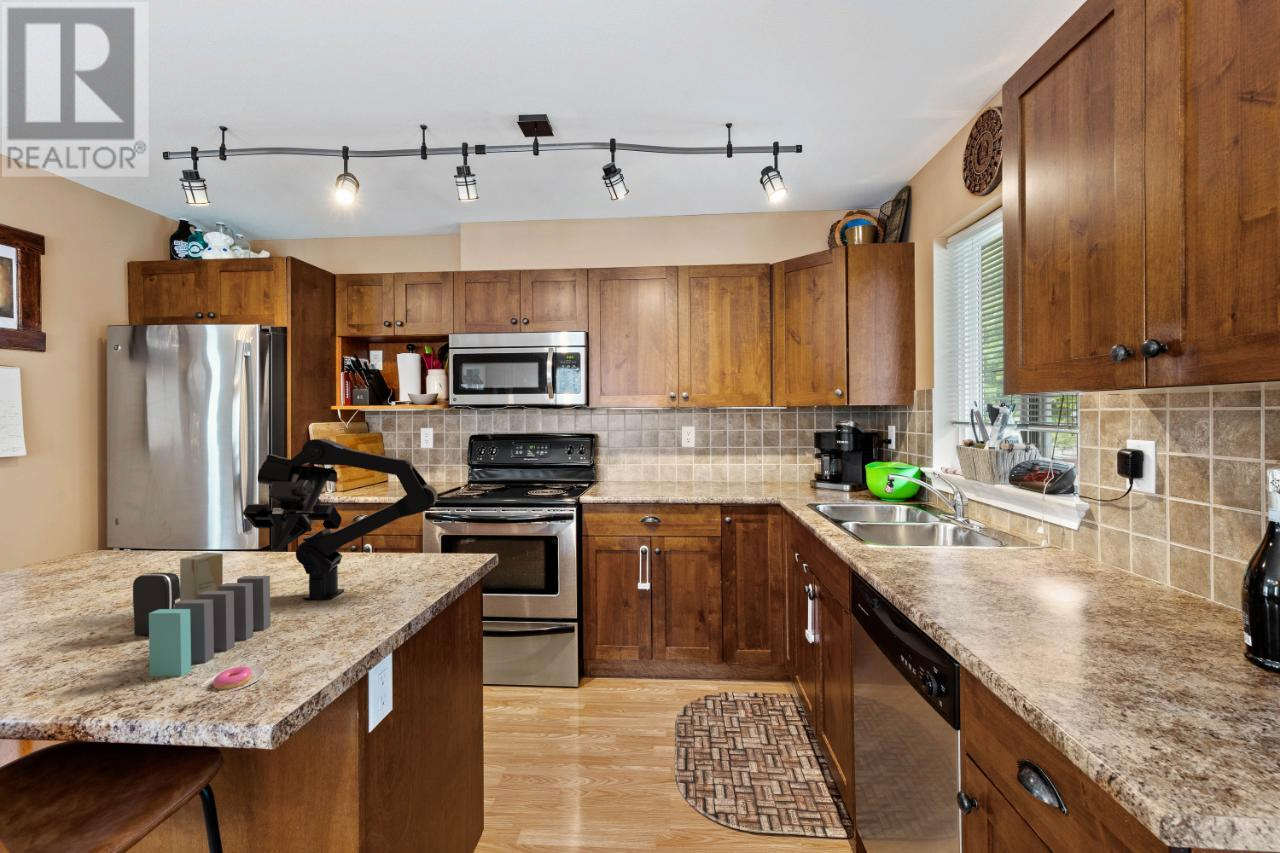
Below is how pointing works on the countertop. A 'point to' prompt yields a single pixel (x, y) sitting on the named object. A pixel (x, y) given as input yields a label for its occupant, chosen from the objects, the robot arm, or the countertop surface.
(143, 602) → the black rounded upright block
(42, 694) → the countertop surface
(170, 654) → the domino
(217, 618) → the domino
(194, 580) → the skincare box
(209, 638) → the domino
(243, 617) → the domino
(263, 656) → the countertop surface
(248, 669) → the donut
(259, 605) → the domino
